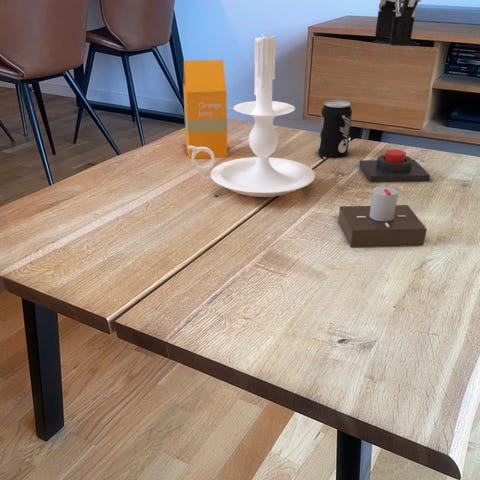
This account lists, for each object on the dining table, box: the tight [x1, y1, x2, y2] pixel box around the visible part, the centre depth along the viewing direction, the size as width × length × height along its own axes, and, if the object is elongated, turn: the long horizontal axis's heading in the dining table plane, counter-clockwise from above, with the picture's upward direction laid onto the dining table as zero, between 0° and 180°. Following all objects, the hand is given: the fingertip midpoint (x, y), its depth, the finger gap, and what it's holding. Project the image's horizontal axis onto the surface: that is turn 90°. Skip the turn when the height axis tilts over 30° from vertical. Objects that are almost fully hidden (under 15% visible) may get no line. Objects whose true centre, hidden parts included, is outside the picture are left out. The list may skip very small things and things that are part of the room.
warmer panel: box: [337, 204, 427, 248], centre depth 93 cm, size 12×10×3 cm
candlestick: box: [188, 33, 316, 198], centre depth 103 cm, size 21×25×28 cm
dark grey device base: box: [358, 153, 431, 183], centre depth 116 cm, size 12×10×4 cm
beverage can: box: [318, 99, 353, 161], centre depth 125 cm, size 7×7×12 cm
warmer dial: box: [369, 186, 399, 222], centre depth 91 cm, size 4×4×5 cm
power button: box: [385, 149, 407, 163], centre depth 114 cm, size 4×4×2 cm
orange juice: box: [182, 59, 228, 160], centre depth 125 cm, size 8×9×20 cm
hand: (391, 40), depth 93 cm, fingers open, 9 cm apart
